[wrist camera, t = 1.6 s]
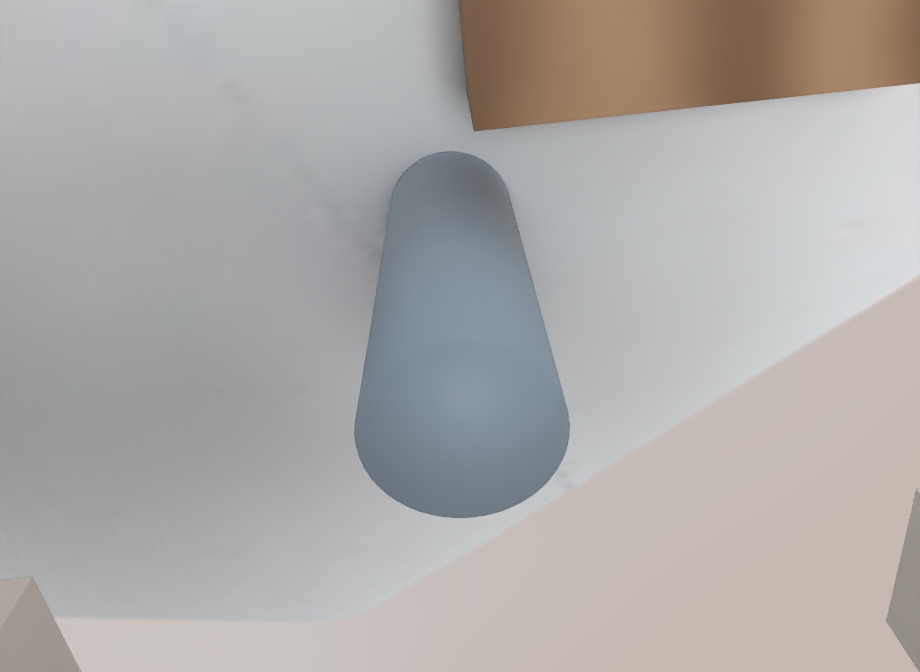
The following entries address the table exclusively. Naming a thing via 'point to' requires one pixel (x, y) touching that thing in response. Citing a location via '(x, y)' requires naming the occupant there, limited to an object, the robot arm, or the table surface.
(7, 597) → the robot arm
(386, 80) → the table surface
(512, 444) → the peg
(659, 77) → the socket block
